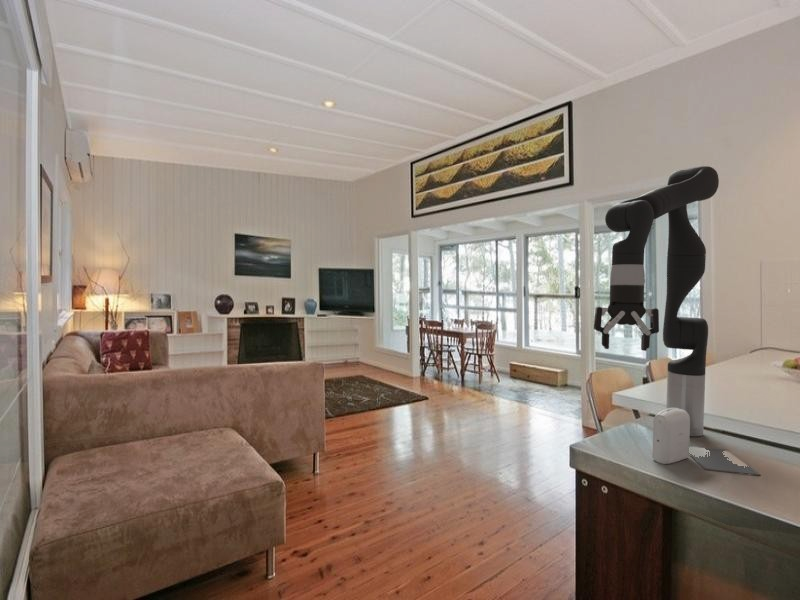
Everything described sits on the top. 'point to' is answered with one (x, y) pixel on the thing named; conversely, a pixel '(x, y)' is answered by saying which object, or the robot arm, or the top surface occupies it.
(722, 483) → the top surface
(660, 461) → the photo printer
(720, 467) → the charcoal mat
